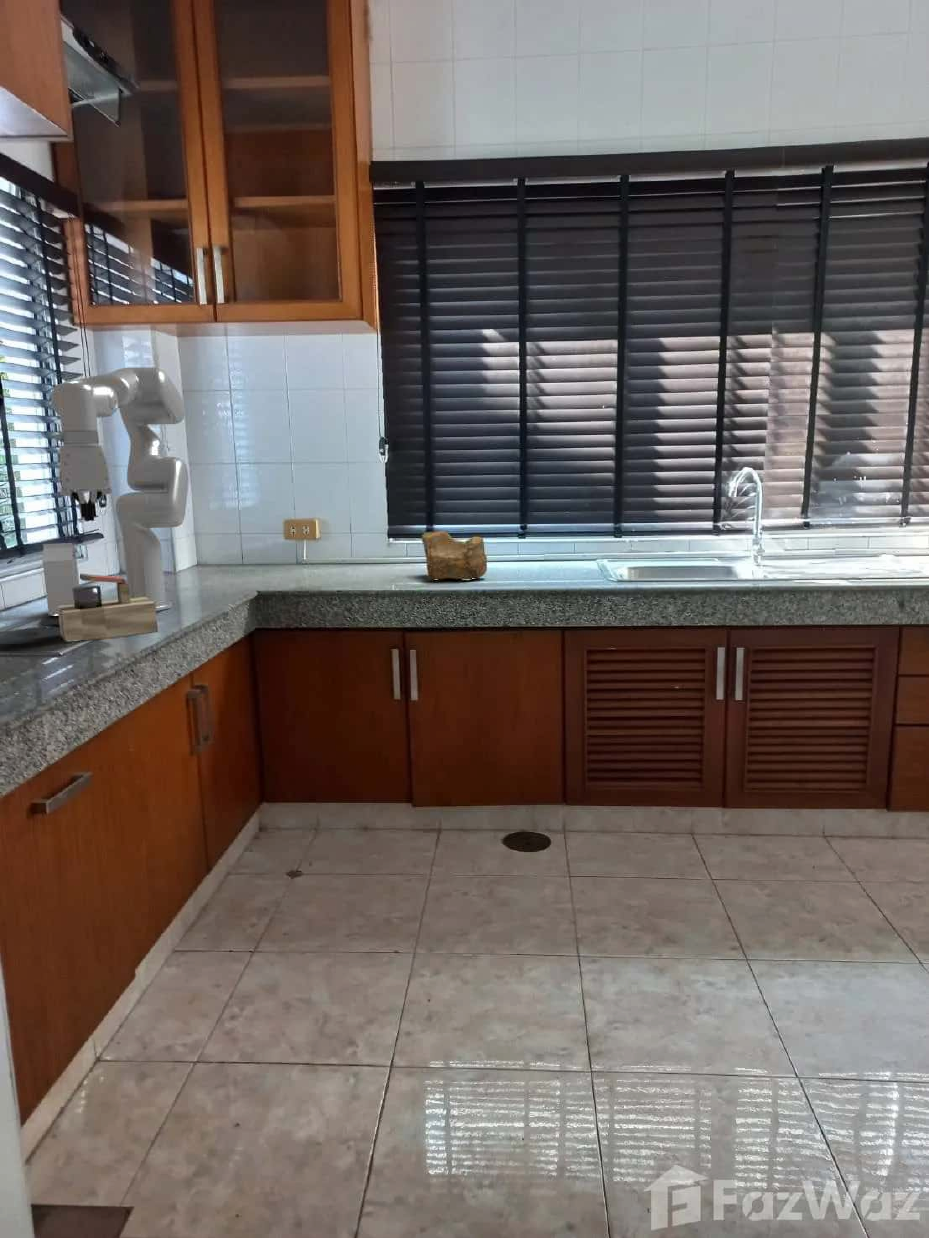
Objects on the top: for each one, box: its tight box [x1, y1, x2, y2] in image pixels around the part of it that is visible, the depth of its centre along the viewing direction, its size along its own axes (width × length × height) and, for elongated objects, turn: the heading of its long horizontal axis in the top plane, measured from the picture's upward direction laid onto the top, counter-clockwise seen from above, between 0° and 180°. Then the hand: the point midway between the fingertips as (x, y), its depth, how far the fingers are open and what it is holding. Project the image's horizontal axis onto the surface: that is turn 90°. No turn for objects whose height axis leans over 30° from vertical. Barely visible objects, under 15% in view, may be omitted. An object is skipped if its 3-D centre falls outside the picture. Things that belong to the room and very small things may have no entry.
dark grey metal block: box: [72, 584, 103, 609], centre depth 198 cm, size 6×6×11 cm
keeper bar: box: [79, 573, 127, 584], centre depth 198 cm, size 5×10×1 cm, turn 123°
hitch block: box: [58, 582, 159, 643], centre depth 200 cm, size 10×20×12 cm, turn 123°
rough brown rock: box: [421, 530, 488, 580], centre depth 272 cm, size 23×17×15 cm
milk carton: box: [41, 542, 80, 616], centre depth 223 cm, size 7×7×19 cm
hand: (89, 520), depth 195 cm, fingers closed
